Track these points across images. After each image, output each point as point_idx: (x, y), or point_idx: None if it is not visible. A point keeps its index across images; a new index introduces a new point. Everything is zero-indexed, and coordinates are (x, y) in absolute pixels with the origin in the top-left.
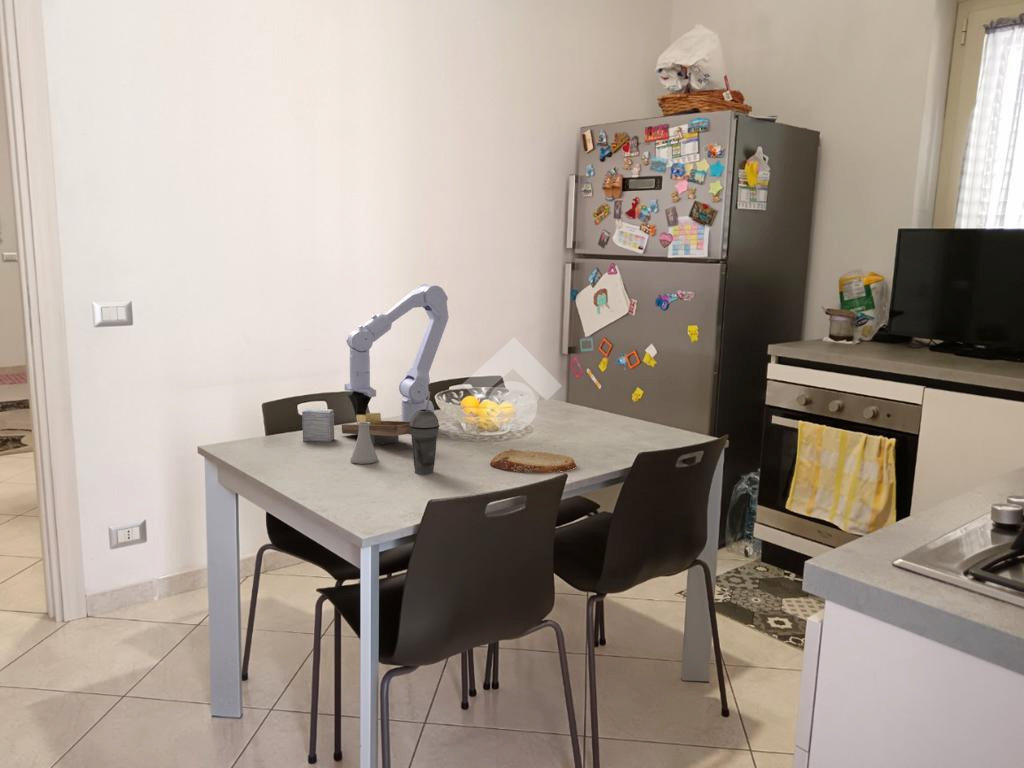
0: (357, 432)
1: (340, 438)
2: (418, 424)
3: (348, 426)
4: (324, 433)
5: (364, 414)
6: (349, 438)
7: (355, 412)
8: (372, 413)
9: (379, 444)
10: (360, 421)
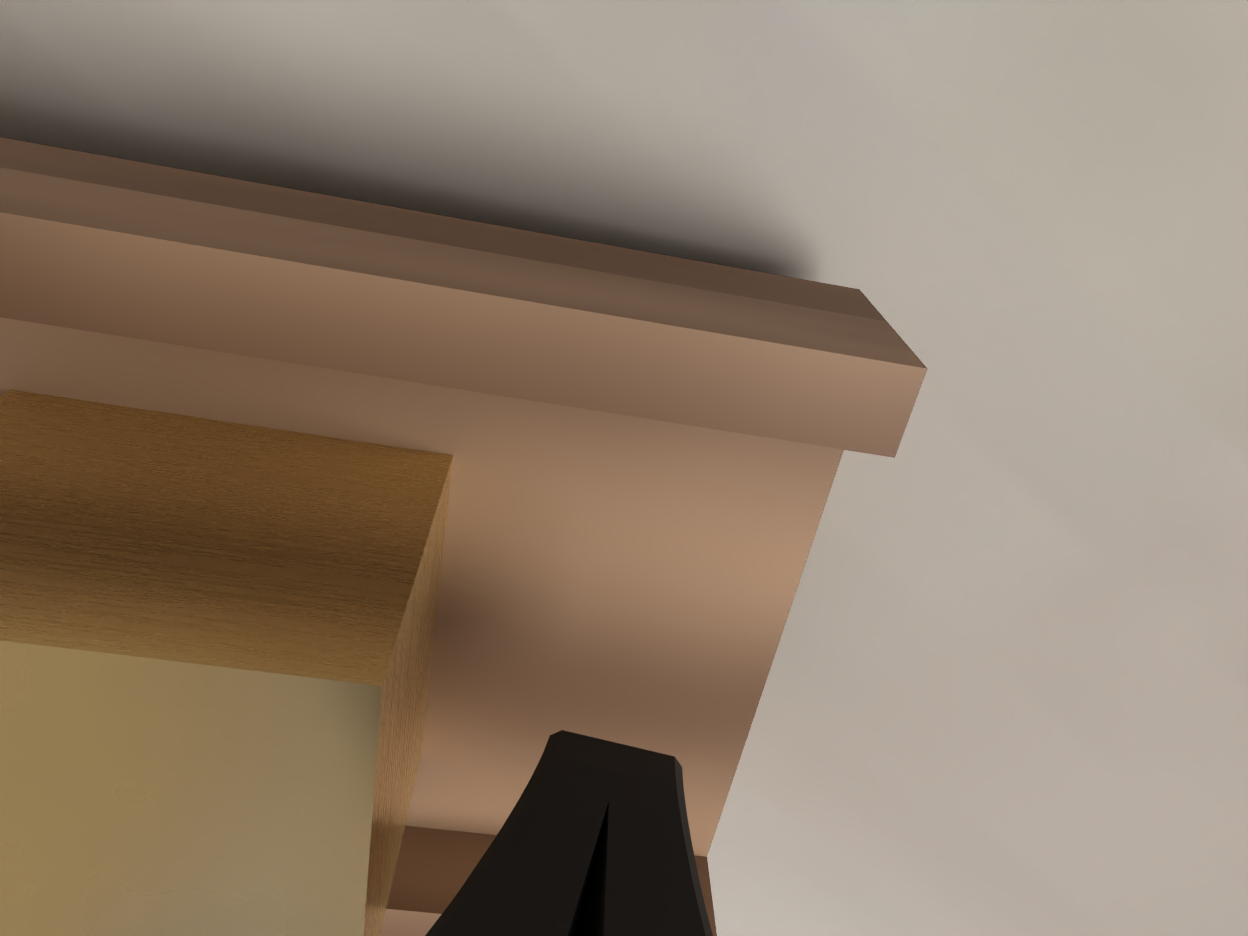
0: (102, 167)
1: (697, 66)
2: None
3: (527, 284)
4: None
5: (15, 734)
6: (551, 209)
7: (640, 865)
8: (27, 927)
9: None
10: (211, 524)
